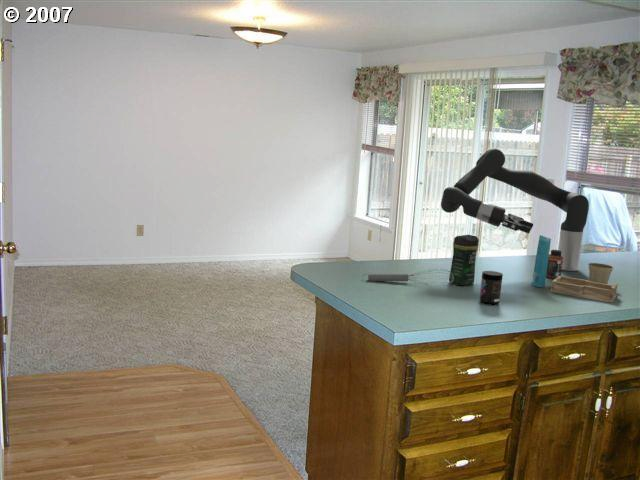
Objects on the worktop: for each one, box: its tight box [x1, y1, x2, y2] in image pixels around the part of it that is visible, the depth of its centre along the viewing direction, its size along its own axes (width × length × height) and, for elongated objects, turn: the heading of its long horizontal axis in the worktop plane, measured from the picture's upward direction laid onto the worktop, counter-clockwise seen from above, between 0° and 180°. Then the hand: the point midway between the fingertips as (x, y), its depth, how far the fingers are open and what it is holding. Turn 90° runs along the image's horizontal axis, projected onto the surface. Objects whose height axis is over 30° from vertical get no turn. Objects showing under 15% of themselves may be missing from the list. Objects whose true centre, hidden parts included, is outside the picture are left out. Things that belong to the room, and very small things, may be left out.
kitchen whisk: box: [361, 268, 454, 287], centre depth 244 cm, size 6×34×6 cm, turn 90°
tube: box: [531, 234, 552, 288], centre depth 252 cm, size 7×5×19 cm, turn 20°
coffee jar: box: [448, 234, 479, 286], centre depth 248 cm, size 10×8×19 cm
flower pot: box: [587, 262, 615, 285], centre depth 258 cm, size 9×9×9 cm
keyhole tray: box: [550, 275, 619, 304], centre depth 245 cm, size 13×21×5 cm, turn 59°
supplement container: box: [479, 270, 504, 306], centre depth 223 cm, size 7×7×10 cm
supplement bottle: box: [546, 249, 563, 280], centre depth 270 cm, size 6×6×11 cm
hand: (531, 228), depth 253 cm, fingers open, 8 cm apart
